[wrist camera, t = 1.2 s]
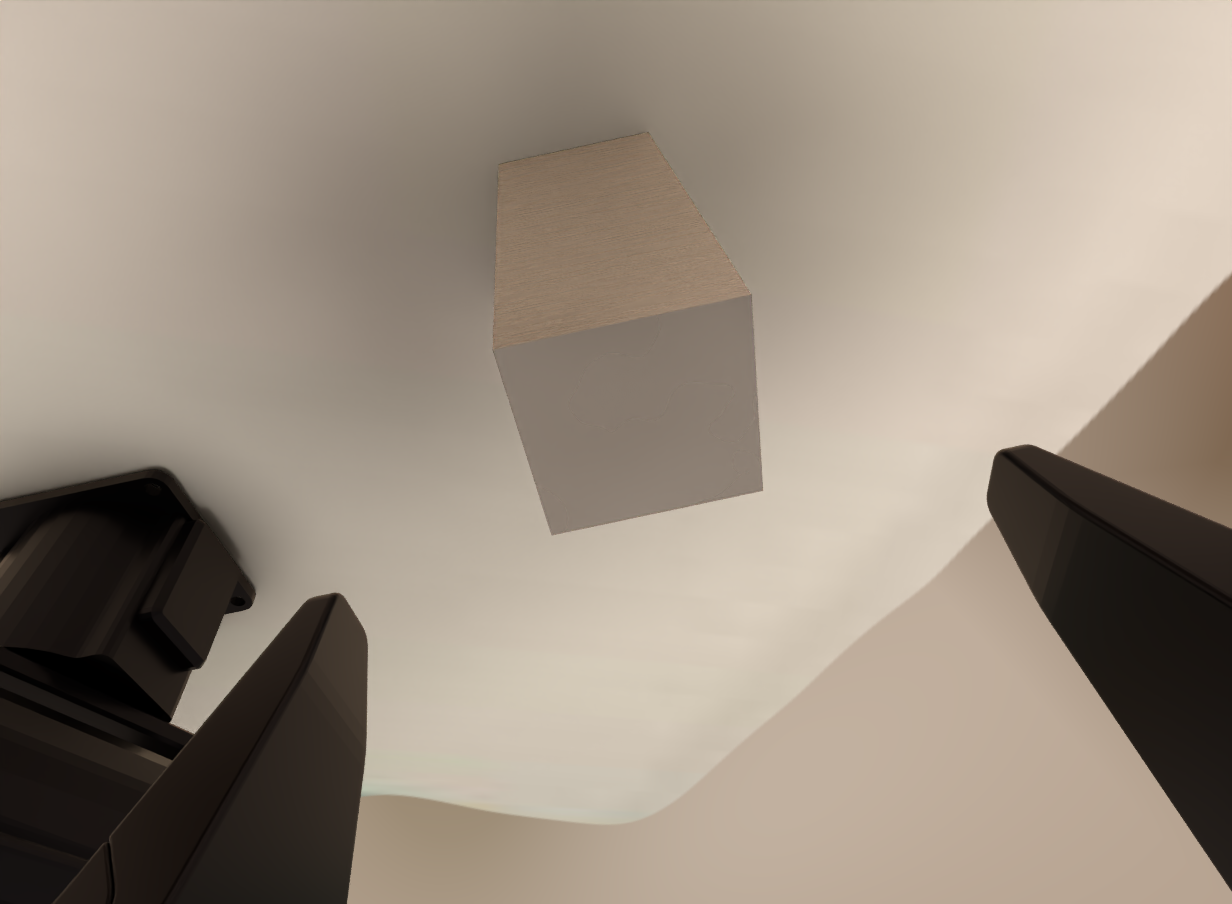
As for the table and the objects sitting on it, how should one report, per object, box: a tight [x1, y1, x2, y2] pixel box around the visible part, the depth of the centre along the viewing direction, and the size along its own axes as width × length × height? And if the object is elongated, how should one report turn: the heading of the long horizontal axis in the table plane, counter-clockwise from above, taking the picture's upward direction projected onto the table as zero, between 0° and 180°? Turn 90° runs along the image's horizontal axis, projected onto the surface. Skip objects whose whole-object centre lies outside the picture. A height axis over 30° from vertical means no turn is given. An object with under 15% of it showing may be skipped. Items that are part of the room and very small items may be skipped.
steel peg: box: [493, 132, 763, 535], centre depth 16 cm, size 4×4×10 cm
